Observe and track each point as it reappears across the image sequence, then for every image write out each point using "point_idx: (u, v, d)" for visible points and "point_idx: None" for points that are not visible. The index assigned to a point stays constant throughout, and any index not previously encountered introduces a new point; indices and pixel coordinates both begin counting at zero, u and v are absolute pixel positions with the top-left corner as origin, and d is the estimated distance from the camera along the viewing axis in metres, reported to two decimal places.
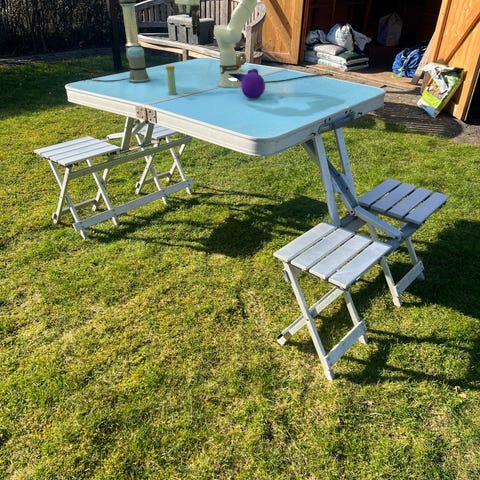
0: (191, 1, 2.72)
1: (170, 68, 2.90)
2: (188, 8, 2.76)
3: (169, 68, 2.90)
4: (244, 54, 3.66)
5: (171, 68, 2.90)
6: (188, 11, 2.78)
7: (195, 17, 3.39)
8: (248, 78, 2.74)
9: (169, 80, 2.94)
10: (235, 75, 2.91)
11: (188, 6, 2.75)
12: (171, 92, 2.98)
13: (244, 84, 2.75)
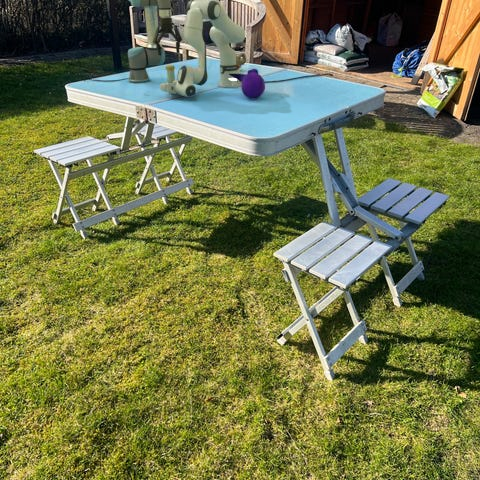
0: None
1: (170, 68, 2.90)
2: None
3: (169, 68, 2.90)
4: (244, 54, 3.66)
5: (171, 68, 2.90)
6: None
7: (172, 31, 2.83)
8: (248, 78, 2.74)
9: (169, 80, 2.94)
10: (235, 75, 2.91)
11: None
12: None
13: (244, 84, 2.75)
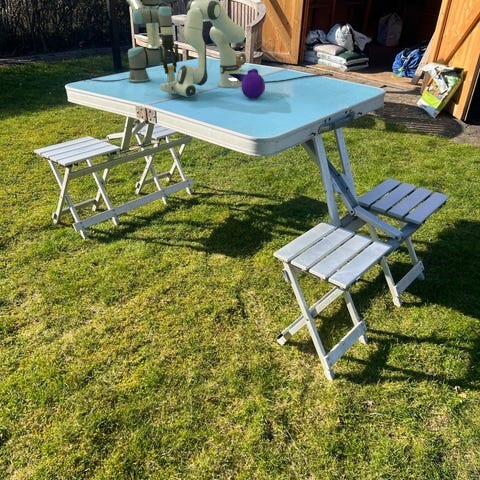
0: None
1: (170, 68, 2.90)
2: None
3: (169, 68, 2.90)
4: (244, 54, 3.66)
5: (171, 68, 2.90)
6: None
7: (172, 49, 2.87)
8: (248, 78, 2.74)
9: (169, 80, 2.94)
10: (235, 75, 2.91)
11: None
12: None
13: (244, 84, 2.75)
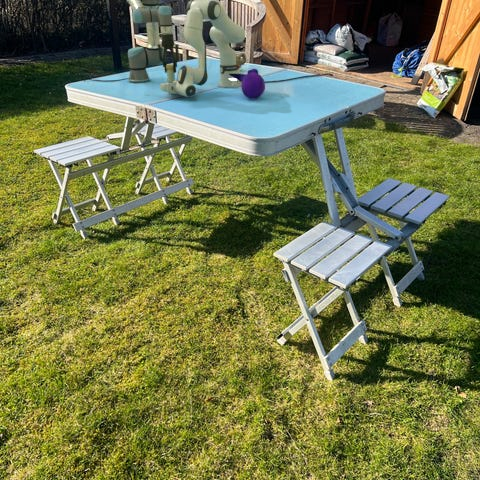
0: None
1: None
2: None
3: None
4: (244, 54, 3.66)
5: None
6: None
7: None
8: (248, 78, 2.74)
9: (169, 80, 2.94)
10: (235, 75, 2.91)
11: None
12: None
13: (244, 84, 2.75)
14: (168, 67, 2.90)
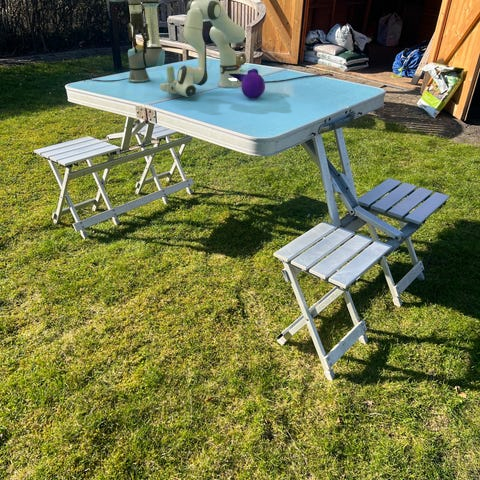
0: None
1: None
2: None
3: None
4: (244, 54, 3.66)
5: None
6: None
7: None
8: (248, 78, 2.74)
9: (169, 80, 2.94)
10: (235, 75, 2.91)
11: None
12: None
13: (244, 84, 2.75)
14: (138, 47, 2.84)
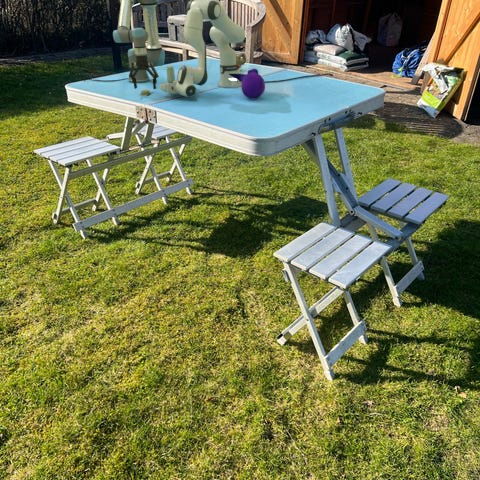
0: None
1: None
2: None
3: None
4: (244, 54, 3.66)
5: None
6: None
7: None
8: (248, 78, 2.74)
9: (169, 80, 2.94)
10: (235, 75, 2.91)
11: None
12: None
13: (244, 84, 2.75)
14: (143, 93, 2.98)
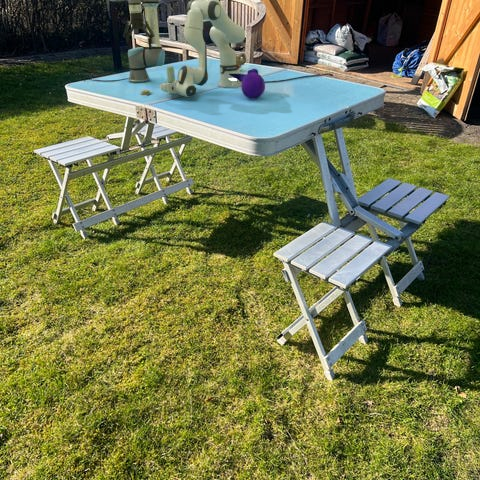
0: None
1: None
2: None
3: None
4: (244, 54, 3.66)
5: None
6: None
7: None
8: (248, 78, 2.74)
9: (169, 80, 2.94)
10: (235, 75, 2.91)
11: None
12: None
13: (244, 84, 2.75)
14: (143, 93, 2.98)
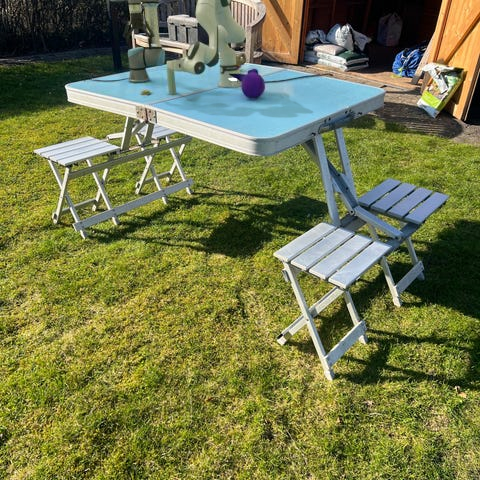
0: None
1: None
2: None
3: None
4: (244, 54, 3.66)
5: None
6: None
7: None
8: (248, 78, 2.74)
9: (169, 80, 2.94)
10: (235, 75, 2.91)
11: None
12: (171, 92, 2.98)
13: (244, 84, 2.75)
14: (143, 93, 2.98)
